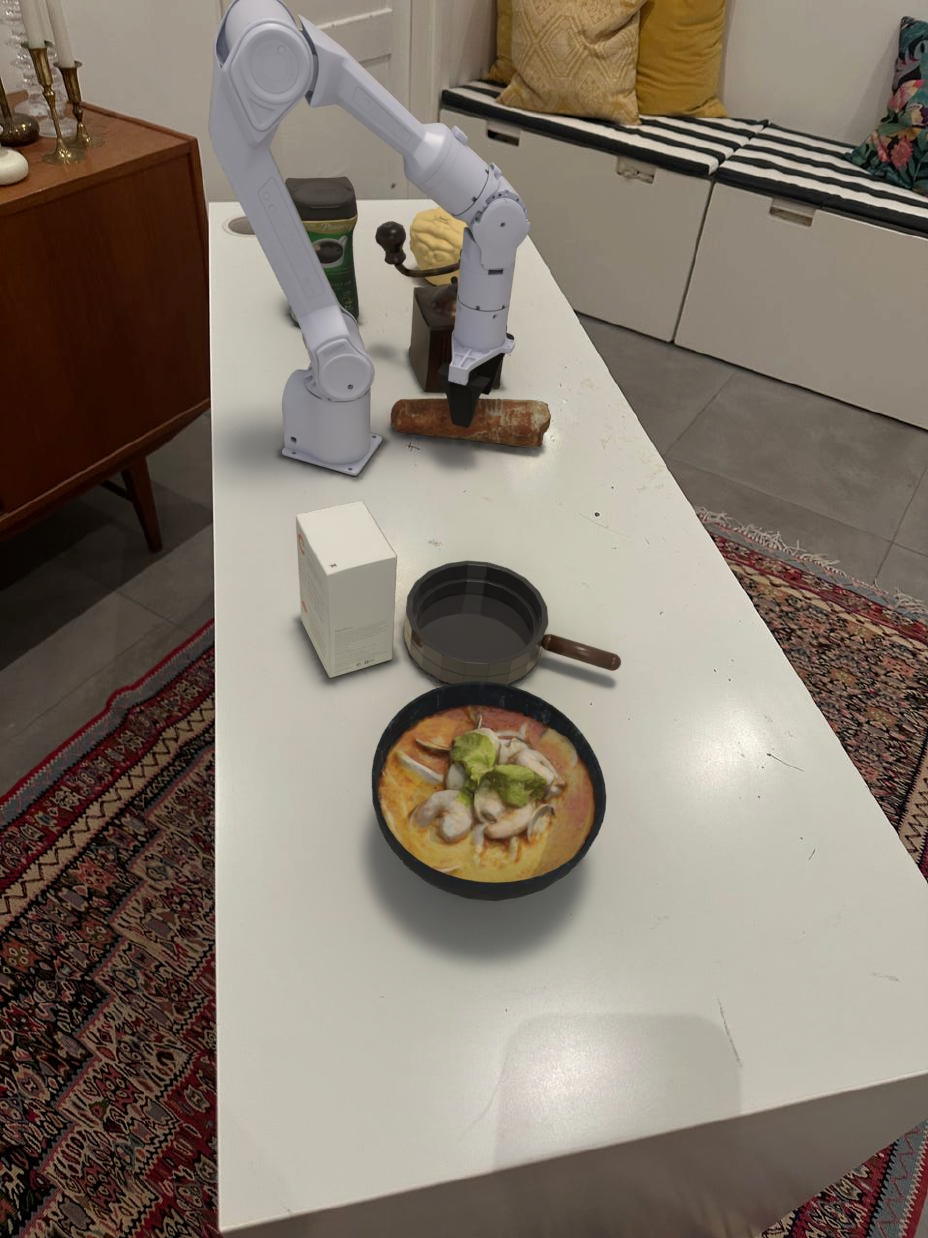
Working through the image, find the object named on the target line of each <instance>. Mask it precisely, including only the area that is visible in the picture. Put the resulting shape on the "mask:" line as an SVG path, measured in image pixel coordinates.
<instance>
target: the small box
mask: <svg viewBox="0 0 928 1238" xmlns="http://www.w3.org/2000/svg"><path fill="white" fill-rule="evenodd" d="M295 528H296V529H295V530H296V531H295V532H296V548H297V566H298V567H297V569H298V583H299V585H298V586H299V601H300V620H301V623H302V624H303V627H304V629H305V630H306V633H307V635H308V637H309V640H310V641H311V643H312V645H313V647H314V650H315V652H316V654H317V656H318V658H319V660H320V662H321V664H322V666H323V668H324V670H325V672H326V674H327V676H328V678H334V677H338V676H342V675H345V674H348V673H349V674H350V673H351V672H354V671H358V670H361V669H365V668H368V667H371V666H375V665H377V664H381V663H384V662H387V661H391V660H393V653H394V636H395V635H394V632H395V614H396V613H395V612H396V611H395V610H396V588H397V568H398V555H397V553H396V552H395V550H394V549H393V547H392V545H391V544H390V542H389V541H388V539H387V538H386V536H385V534H384V532H383V531H382V529H381V528H380V526H379V525H378V523H377V521H376V519H375V518H374V516H373V515H372V513H371V512H370V510H369V508H368V507H367V505H366V504H365V502H364V500H358V501H352V502H349V503H344V504H339V505H334V506H330V507H326V508H321V509H315V510H311V511H307V512H301V513H296V515H295Z"/></svg>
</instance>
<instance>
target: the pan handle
mask: <svg viewBox="0 0 928 1238" xmlns="http://www.w3.org/2000/svg"><path fill="white" fill-rule="evenodd" d="M542 647H543V648H542V650H544V651H546V652H549V653H553V654H556V655H560V656H562V657H566V658H569V659H571V660H575V661H578V662H582V663H585V664H587V665H591V666H595V667H597V668H601V669H604V670H607V671H611V672H613V671H617V670H618V669H620V668H621V665H622V659H621V657H620V656H619V654H617V653H615V652H611V651H607V650H604V649H602V648H598V647H595V646H592V645H588V644H585V643H582V642H580V641H576V640H572V639H569V638H566V637H562V636H558V635H556V634H554V633H553V634H552V633H546V635H545V636H544V639H543V642H542Z"/></svg>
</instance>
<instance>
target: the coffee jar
mask: <svg viewBox="0 0 928 1238" xmlns="http://www.w3.org/2000/svg"><path fill="white" fill-rule="evenodd" d="M284 182H285V184H286V187H287V189H288V191H289V193H290V196H291V198H292V200H293V202H294V205H295V207H296V209H297V211H298V214H299V216H300V218H301V220H302V223H303V225H304V227H305V230H306V232H307V234H308V236H309V239H310V241H311V243H312V245H313V248H314V250H315V252H316V254H317V257H318V259H319V261H320V263H321V266H322V268H323V270H324V272H325V275H326V277H327V279H328V281H329V284H330V286H331V288H332V290H333V292H334V293H335V296H336V298H337V300H338V302H339V304H340V305H341V306H342V307H343V308H344V309H345V310H346V311H348V312H349V313H350V314H351V315H352V316H353V317H354V318H355V320H356V321H357V320H358V319H359V316H360V307H359V306H360V305H359V294H358V293H359V292H358V286H357V276H356V270H355V257H354V232H355V228H356V225H357V223H358V218H359V211H358V203H357V197H356V191H355V189H354V188H355V187H354V185H353V183H352V182H351V180H350V178H348V177H347V176H345V175H344V176H338V177H337V176H336V177H299V178H297V177H287V178H286V179H285V180H284ZM288 304H289V303H288ZM289 312H290V316H291V318H292V320H293V321H294V322H295V323H296V324H297V325H299V323H298V321H297V318H296V316H295V314H294V312H293V310H292V308H291V306H290V304H289Z"/></svg>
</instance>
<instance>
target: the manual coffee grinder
mask: <svg viewBox="0 0 928 1238" xmlns="http://www.w3.org/2000/svg"><path fill="white" fill-rule="evenodd" d="M374 238H375V242H376V244H377V245H379V247H381V248H382V249H383V251H384V252H385V253H384V255H385V257H384V263H386V264H387V265H391V266H394V268H395V269H396V270H397V271H398V273H400V274H401V275H403V276H405V277H409V278H413V279H414V278H415V279H416V278H425V277H431V276H438V275H444V274H449V273H452V272H455V271H457V270H459V269H460V259H461V252H462V249H461V250H460V259H459V260H458V263H455V264H452V265H448V266H445V267H441V268H435V269H427V270H420V269H418V270H417V269H410V268H407V266H406V265H404V264H403V263H404V262H405V261H406V259H407V254H406V253H405V250H404V249H403V248H404V244H405V242H406V240H407V232H406V228H405V227H404V225H403V224H401V223H399V222H396V221H394V220H391V221H390V220H388V221H386V222H384V223H382V224H380V225H379V226H378V227H377V228H376V232H375V236H374ZM412 292H413V294H412V310H411V311H412V312H411V331H410V341H409V342H410V343H409V348H408V352H409V357H410V363H411V365H412V367H413V370H414V373H415V376H416V378H417V381H418V382H419V384H420V385H421V387H422V389H423V390H424V391H425V392H427V393H445V391H444V389H443V387H442V385H441V383H440V382H439V380H438V370H439V368H440V367H441V366H442V364H443V363H446V364H449V365H450V364H451V362H452V332H453V330H454V327H455V316H456V303H457V293H458V278H457V277H456V276H453V277H452V278H451V283H449V284H442V285H439V286H436V285H435V286H418V287H417V286H414V287H413V291H412ZM507 331H508V326H507V327H506V333H508V332H507ZM503 364H504V359H503V360H502V362H501V365H500V367H499V370H498V373H497V376H496V379H495V382H494V385H493V387H492V389H499V388H500V386H501V377H502V371H503Z"/></svg>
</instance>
